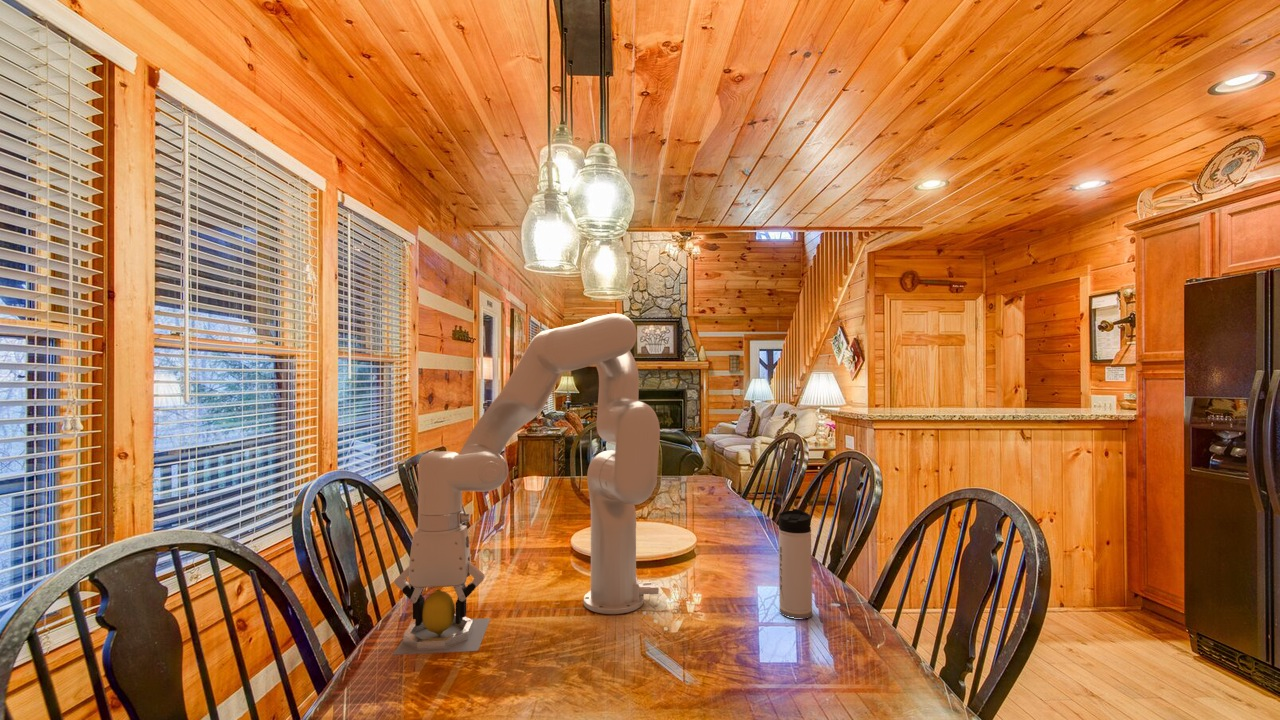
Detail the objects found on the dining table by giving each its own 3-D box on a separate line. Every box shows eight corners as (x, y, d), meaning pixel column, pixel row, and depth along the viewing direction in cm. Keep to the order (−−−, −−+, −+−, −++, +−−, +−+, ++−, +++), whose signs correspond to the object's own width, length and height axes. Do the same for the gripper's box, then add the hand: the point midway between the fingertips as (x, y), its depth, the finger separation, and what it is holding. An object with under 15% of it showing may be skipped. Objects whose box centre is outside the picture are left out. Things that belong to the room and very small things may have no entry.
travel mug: (814, 609, 115) (813, 510, 115) (809, 622, 109) (808, 517, 109) (783, 604, 117) (782, 507, 118) (776, 616, 111) (775, 514, 112)
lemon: (445, 642, 98) (443, 596, 98) (416, 641, 99) (414, 595, 100) (461, 628, 104) (459, 584, 104) (434, 627, 105) (432, 583, 105)
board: (490, 623, 109) (490, 618, 109) (477, 656, 96) (477, 650, 96) (415, 626, 107) (415, 621, 107) (392, 660, 94) (392, 654, 94)
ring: (476, 620, 107) (476, 612, 107) (464, 648, 96) (464, 639, 96) (416, 623, 106) (416, 615, 106) (397, 651, 95) (397, 642, 95)
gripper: (492, 514, 107) (492, 611, 106) (397, 517, 105) (396, 615, 104) (485, 525, 99) (485, 628, 99) (383, 528, 97) (382, 633, 97)
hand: (439, 620), depth 101 cm, fingers open, 6 cm apart
